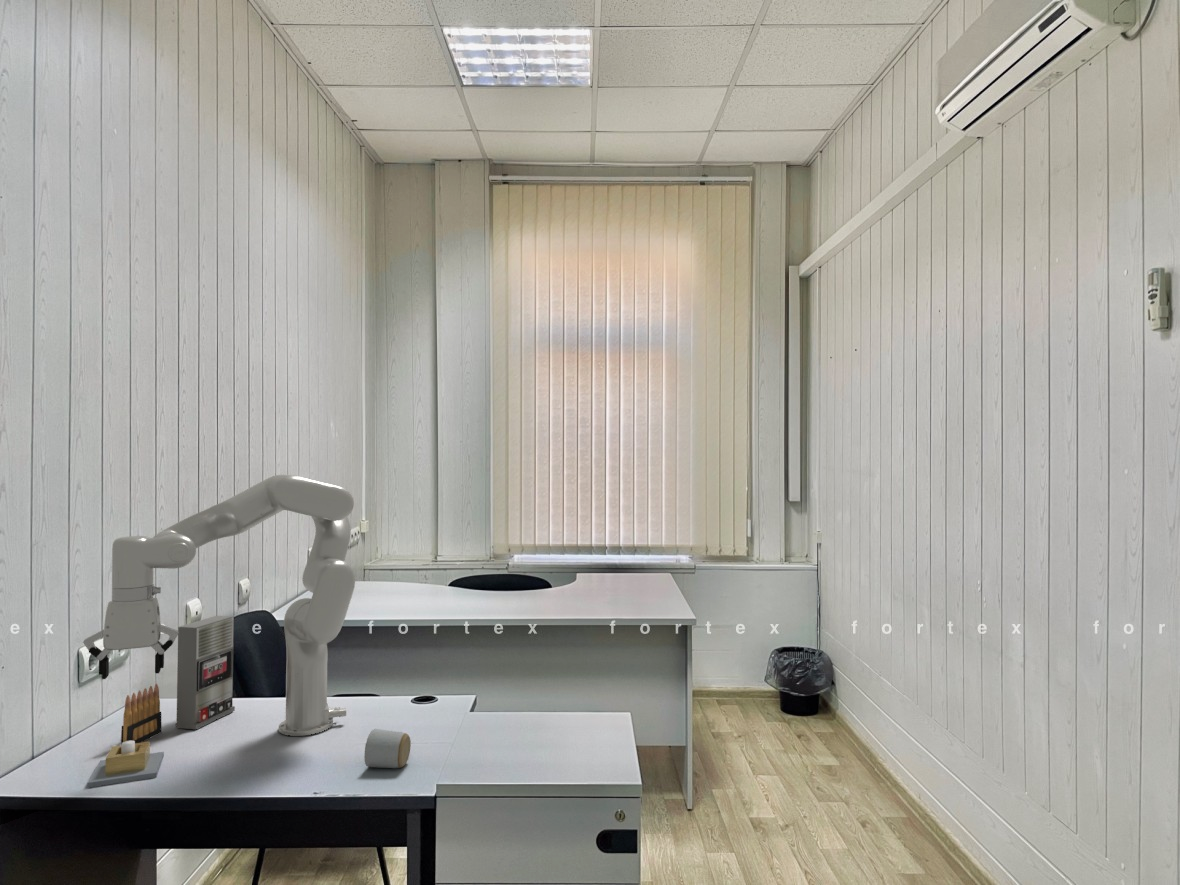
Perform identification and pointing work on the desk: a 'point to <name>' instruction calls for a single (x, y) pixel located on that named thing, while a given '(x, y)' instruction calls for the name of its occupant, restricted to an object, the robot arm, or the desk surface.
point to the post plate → (149, 772)
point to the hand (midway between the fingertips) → (131, 674)
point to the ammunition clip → (142, 716)
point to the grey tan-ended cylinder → (387, 749)
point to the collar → (127, 759)
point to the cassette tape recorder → (204, 671)
